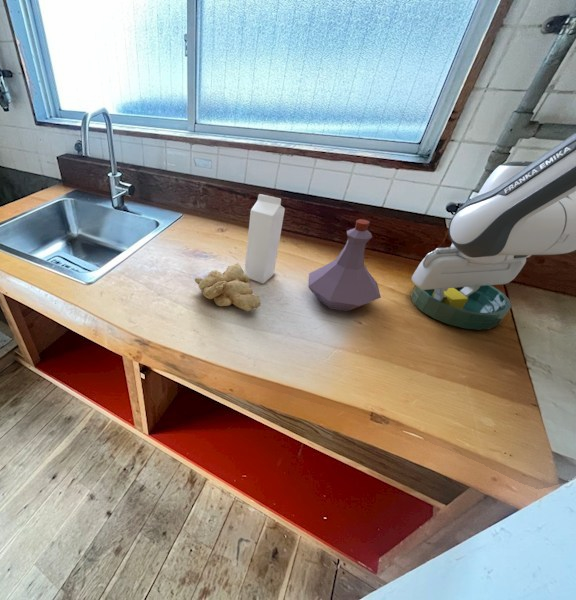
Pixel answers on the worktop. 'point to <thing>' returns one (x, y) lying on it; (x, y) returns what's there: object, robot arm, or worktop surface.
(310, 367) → the worktop surface
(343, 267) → the flask
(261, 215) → the milk
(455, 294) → the yellow block
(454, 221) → the robot arm
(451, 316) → the bowl
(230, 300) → the ginger root
